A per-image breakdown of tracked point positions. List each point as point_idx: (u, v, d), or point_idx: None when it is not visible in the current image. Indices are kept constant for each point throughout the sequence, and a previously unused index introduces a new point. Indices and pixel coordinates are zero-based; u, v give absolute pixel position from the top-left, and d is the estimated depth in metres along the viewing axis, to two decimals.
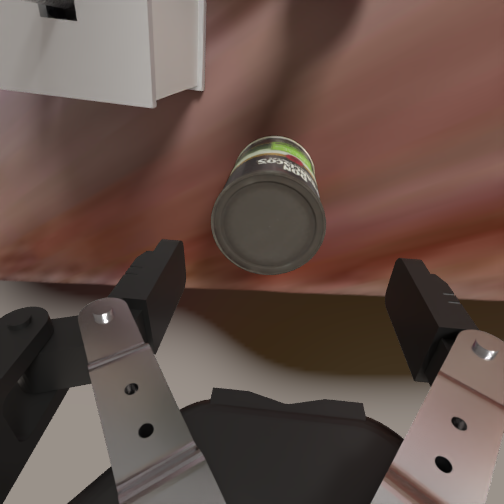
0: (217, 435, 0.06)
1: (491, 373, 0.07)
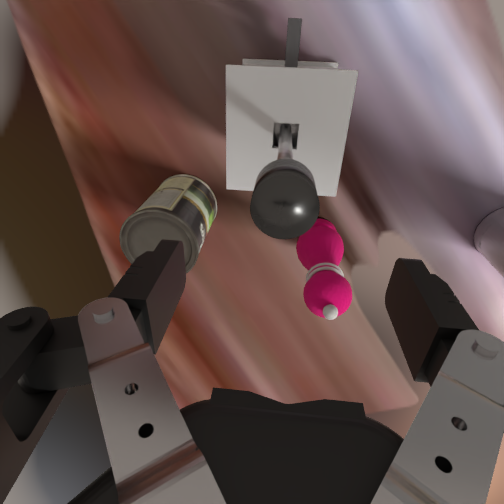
0: (217, 435, 0.06)
1: (491, 373, 0.07)
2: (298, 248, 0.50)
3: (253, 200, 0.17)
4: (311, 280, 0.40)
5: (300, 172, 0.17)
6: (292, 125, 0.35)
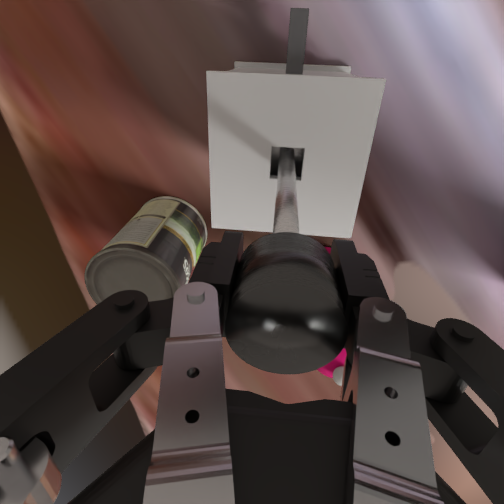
0: None
1: (379, 330, 0.08)
2: None
3: (229, 319, 0.10)
4: None
5: (313, 269, 0.10)
6: None
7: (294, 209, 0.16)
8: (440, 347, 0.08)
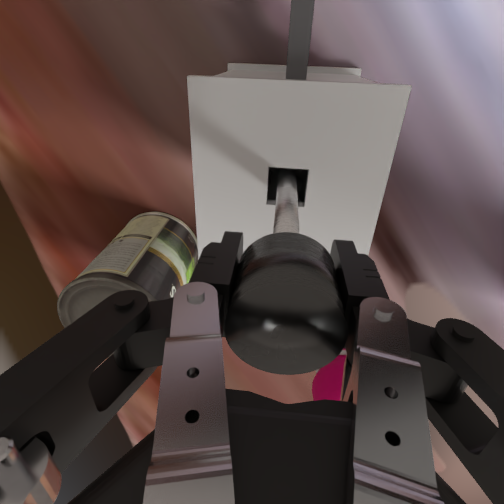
0: None
1: (380, 330, 0.08)
2: None
3: (229, 319, 0.10)
4: (324, 376, 0.29)
5: (313, 269, 0.10)
6: None
7: (294, 209, 0.16)
8: (440, 347, 0.08)
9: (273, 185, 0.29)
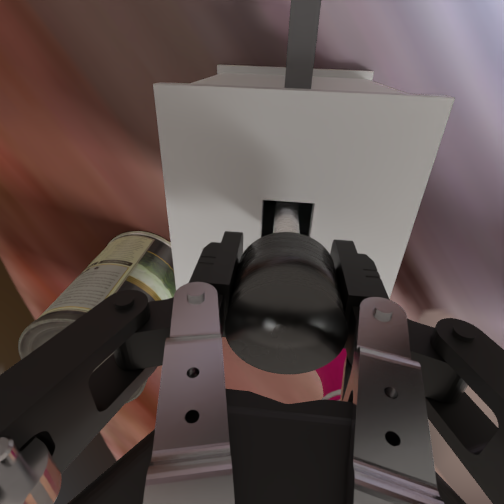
0: None
1: (379, 330, 0.08)
2: None
3: (229, 319, 0.10)
4: None
5: (313, 268, 0.10)
6: None
7: (294, 209, 0.16)
8: (440, 347, 0.08)
9: None
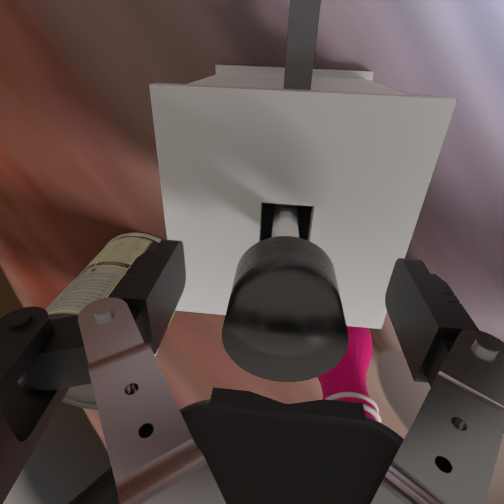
0: (217, 435, 0.06)
1: (491, 373, 0.07)
2: None
3: (226, 326, 0.09)
4: None
5: (313, 274, 0.09)
6: None
7: (293, 211, 0.16)
8: None
9: None
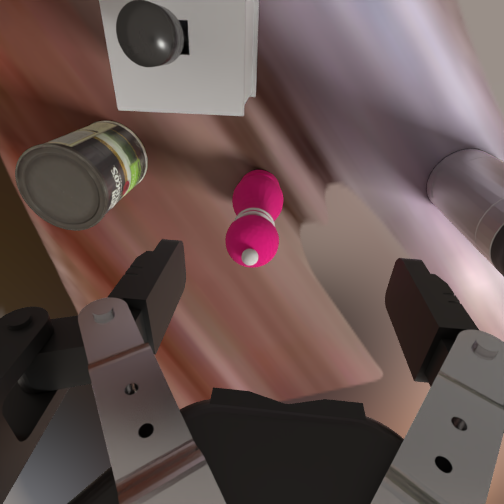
0: (217, 435, 0.06)
1: (491, 373, 0.07)
2: (233, 200, 0.45)
3: (117, 27, 0.21)
4: (232, 224, 0.36)
5: (156, 4, 0.21)
6: None
7: None
8: None
9: None
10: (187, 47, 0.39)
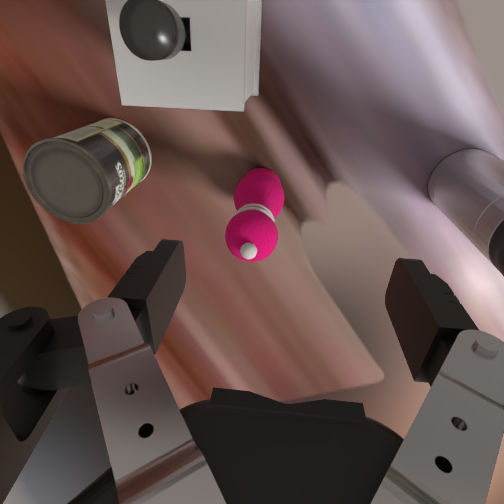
0: (217, 435, 0.06)
1: (491, 373, 0.07)
2: (234, 197, 0.46)
3: (120, 21, 0.22)
4: (232, 219, 0.36)
5: (158, 0, 0.22)
6: None
7: None
8: None
9: None
10: None
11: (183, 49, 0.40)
